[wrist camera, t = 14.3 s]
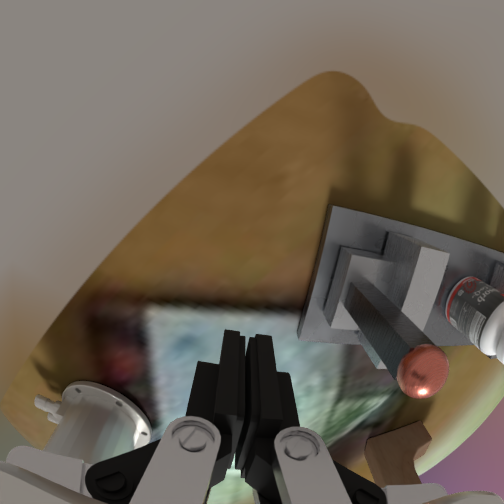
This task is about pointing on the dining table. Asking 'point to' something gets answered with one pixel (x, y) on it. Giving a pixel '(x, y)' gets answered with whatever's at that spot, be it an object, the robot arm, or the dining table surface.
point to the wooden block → (397, 454)
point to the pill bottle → (478, 315)
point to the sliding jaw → (393, 309)
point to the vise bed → (374, 240)
